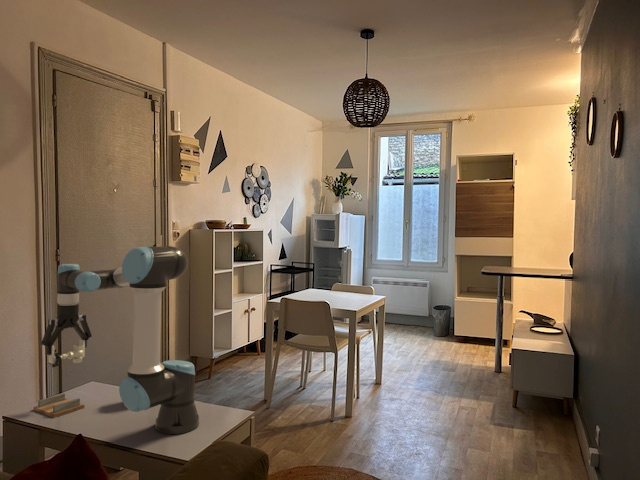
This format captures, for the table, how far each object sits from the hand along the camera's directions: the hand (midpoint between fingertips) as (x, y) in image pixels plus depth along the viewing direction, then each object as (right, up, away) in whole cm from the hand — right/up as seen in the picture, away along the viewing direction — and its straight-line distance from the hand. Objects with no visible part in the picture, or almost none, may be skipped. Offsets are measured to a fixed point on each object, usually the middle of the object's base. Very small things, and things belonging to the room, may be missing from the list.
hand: (67, 359), depth 189 cm
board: (-3, -19, -1) cm, 19 cm away
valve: (0, -2, 0) cm, 2 cm away
